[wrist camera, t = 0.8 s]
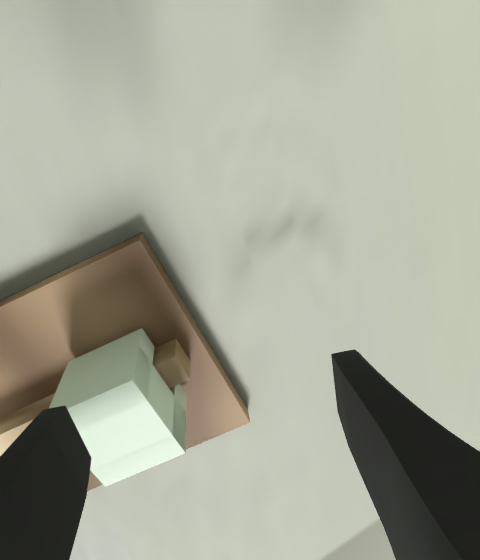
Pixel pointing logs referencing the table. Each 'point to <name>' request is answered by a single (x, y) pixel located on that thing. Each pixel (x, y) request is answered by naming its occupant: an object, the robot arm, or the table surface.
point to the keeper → (123, 408)
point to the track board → (108, 340)
